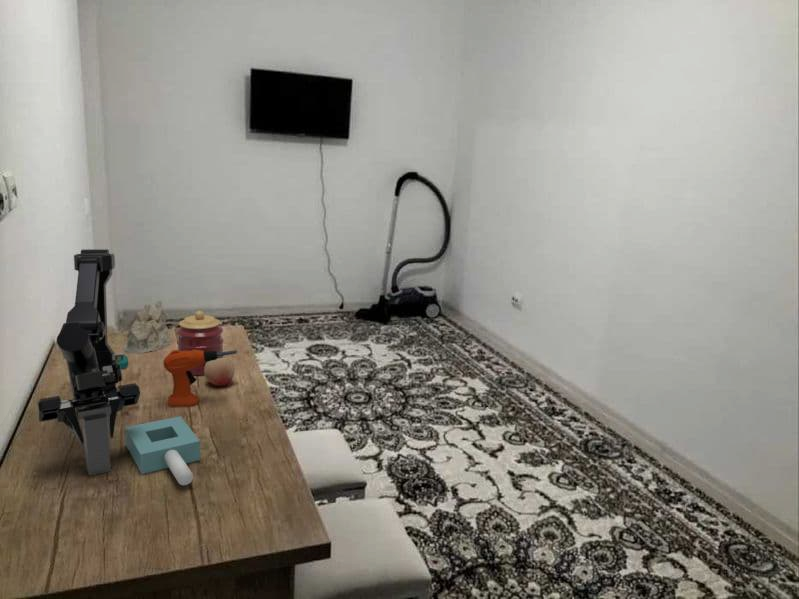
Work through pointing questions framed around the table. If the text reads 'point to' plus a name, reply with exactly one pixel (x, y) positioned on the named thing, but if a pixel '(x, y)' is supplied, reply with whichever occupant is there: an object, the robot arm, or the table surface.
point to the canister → (200, 336)
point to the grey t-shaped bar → (96, 438)
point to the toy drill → (187, 373)
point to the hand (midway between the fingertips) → (97, 440)
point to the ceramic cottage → (147, 330)
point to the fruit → (219, 371)
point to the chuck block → (164, 447)
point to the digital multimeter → (122, 360)
